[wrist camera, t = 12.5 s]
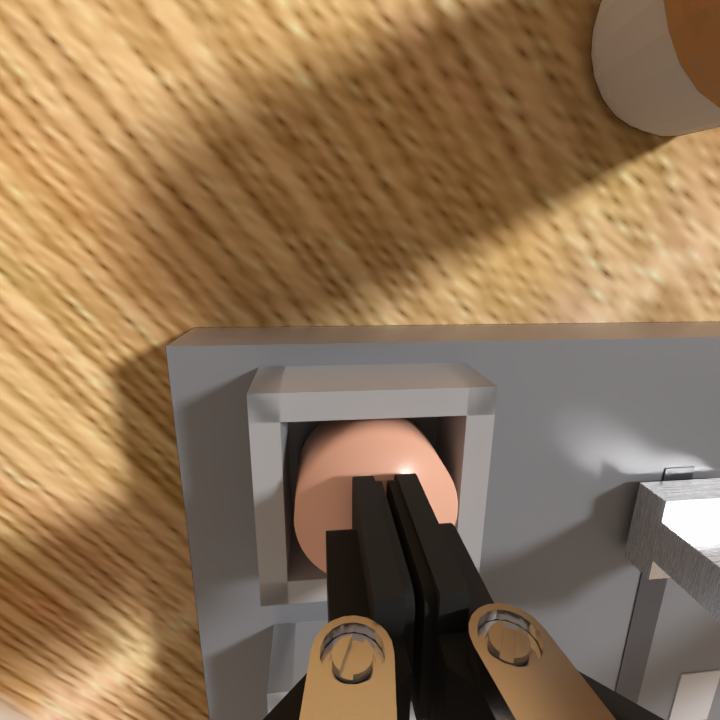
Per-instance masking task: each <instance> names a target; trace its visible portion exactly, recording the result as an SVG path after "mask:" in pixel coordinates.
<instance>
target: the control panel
mask: <svg viewBox="0 0 720 720" xmlns="http://www.w3.org/2000/svg"><path fill="white" fill-rule="evenodd" d="M166 354H167V363H168V371H169V380H170V388H171V397H172V405H173V414H174V422H175V431H176V439H177V447H178V456H179V464H180V473H181V481H182V490H183V498H184V507H185V515H186V524H187V532H188V541H189V549H190V558H191V566H192V575H193V583H194V592H195V600H196V609H197V617H198V626H199V634H200V642H201V651H202V659H203V668H204V676H205V685H206V693H207V702H208V710H209V719H210V720H263V719H264V718H265V717H266V716H267V715H268V714H269V712H270V711H271V710H272V709H273V708H274V707H275V706H276V705H277V704H278V703H279V702H280V701H281V700H282V699H283V698H284V697H285V696H286V694H287V693H288V692H289V691H290V690H291V689H292V688H293V687H294V686H295V685H296V684H297V683H298V682H299V681H300V680H301V679H302V678H303V676H304V675H305V674H306V673H307V670H308V664H309V659H310V653H311V648H312V645H313V642H314V639H315V637H316V636H317V634H318V633H319V632H320V630H321V629H322V628H323V627H324V626H325V625H327V624H328V606H327V575H326V573H325V572H323V571H322V570H320V569H319V568H318V567H317V566H315V565H314V564H313V563H312V562H311V561H310V559H309V558H308V557H307V556H306V555H305V553H304V551H303V550H302V548H301V546H300V544H299V542H298V539H297V536H296V532H295V526H294V510H295V496H296V482H297V468H298V461H299V456H300V453H301V450H302V448H303V446H304V444H305V442H306V440H307V438H308V437H309V436H310V434H311V433H312V432H313V431H314V430H315V428H316V427H317V426H318V425H320V424H321V423H322V422H323V421H330V420H357V419H385V418H410V419H412V420H413V421H414V422H415V423H416V424H417V425H418V426H419V427H420V428H421V429H422V431H423V432H424V434H425V435H426V437H427V438H428V440H429V442H430V443H431V445H432V447H433V448H434V450H435V452H436V453H437V455H438V456H439V458H440V460H441V461H442V463H443V465H444V466H445V468H446V470H447V471H448V473H449V475H450V477H451V479H452V481H453V483H454V486H455V489H456V492H457V499H458V514H457V520H456V524H455V528H456V529H457V531H458V533H459V535H460V537H461V539H462V541H463V543H464V545H465V547H466V549H467V551H468V553H469V555H470V557H471V559H472V561H473V563H474V565H475V567H476V568H477V570H478V572H479V574H480V576H481V578H482V580H483V582H484V584H485V586H486V588H487V590H488V592H489V594H490V596H491V598H492V600H493V602H494V604H495V603H501V604H506V605H511V606H514V607H516V608H519V609H521V610H523V611H525V612H526V613H528V614H529V615H531V616H532V617H534V618H535V619H536V620H537V621H538V622H539V623H540V624H541V625H542V626H543V627H544V628H545V629H546V631H547V632H548V633H549V635H550V636H551V637H552V638H553V640H554V641H555V642H556V644H557V645H558V646H559V647H560V649H561V650H562V651H563V652H564V654H565V655H566V656H567V658H568V659H569V660H570V661H571V663H572V664H573V665H574V667H575V668H576V669H577V670H578V671H580V672H581V673H583V674H585V675H587V676H588V677H590V678H592V679H594V680H595V681H597V682H599V683H601V684H602V685H604V686H606V687H608V688H609V689H611V690H613V691H615V692H617V693H618V694H620V695H622V696H624V697H625V698H627V699H629V700H631V701H632V702H634V703H636V704H638V705H639V706H641V707H643V708H645V709H647V710H648V711H650V712H652V713H654V714H655V715H657V716H659V717H661V718H662V719H664V720H720V622H719V621H718V620H717V619H715V618H714V617H713V616H712V615H711V614H710V613H709V612H708V611H707V610H706V609H705V608H703V607H702V606H701V605H700V604H699V603H698V602H697V601H696V600H695V599H694V598H693V597H691V596H690V595H689V594H688V593H687V592H686V591H685V590H684V589H683V588H682V587H681V586H680V585H678V584H677V583H676V582H675V581H674V580H673V579H672V578H662V579H651V580H648V579H647V578H646V577H645V576H644V575H643V574H642V573H641V572H640V571H639V570H638V569H637V568H636V567H635V566H634V565H633V564H632V563H631V562H630V561H629V560H628V559H627V558H626V557H625V556H624V555H625V550H626V545H627V541H628V536H629V531H630V526H631V521H632V517H633V512H634V507H635V502H636V497H637V493H638V488H639V483H641V482H658V481H676V480H693V479H710V478H720V322H642V323H558V324H474V325H390V326H306V327H222V328H193V329H191V330H190V331H188V332H187V333H185V334H184V335H182V336H180V337H179V338H177V339H176V340H174V341H173V342H171V343H170V344H168V345H167V346H166ZM411 701H412V700H411Z"/></svg>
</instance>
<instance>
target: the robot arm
mask: <svg viewBox="0 0 720 720" xmlns="http://www.w3.org/2000/svg"><path fill="white" fill-rule="evenodd" d="M326 575H327V606H328V624H327V625H325V626H324V627H323V628H322V629H321V630H320V632H319V633H318V634H317V636H316V637H315V639H314V642H313V645H312V648H311V653H310V659H309V664H308V670H307V673H306V674H305V675H304V676H303V678H302V679H301V680H300V681H299V682H298V683H297V684H296V685H295V686H294V687H293V688H292V689H291V690H290V691H289V692H288V693H287V694H286V696H285V697H284V698H283V699H282V700H281V701H280V702H279V703H278V704H277V705H276V706H275V707H274V708H273V709H272V710H271V711H270V712H269V714H268V715H267V716H266V717H265V718H264V719H263V720H409V719H410V702H411V700H412V704H413V709H414V713H415V717H416V720H664V719H662V718H661V717H659V716H657V715H655V714H654V713H652V712H650V711H648V710H647V709H645V708H643V707H641V706H639V705H638V704H636V703H634V702H632V701H631V700H629V699H627V698H625V697H624V696H622V695H620V694H618V693H617V692H615V691H613V690H611V689H609V688H608V687H606V686H604V685H602V684H601V683H599V682H597V681H595V680H594V679H592V678H590V677H588V676H587V675H585V674H583V673H581V672H580V671H578V670H577V669H576V668H575V667H574V665H573V664H572V663H571V661H570V660H569V659H568V658H567V656H566V655H565V654H564V652H563V651H562V650H561V649H560V647H559V646H558V645H557V644H556V642H555V641H554V640H553V638H552V637H551V636H550V635H549V633H548V632H547V631H546V629H545V628H544V627H543V626H542V625H541V624H540V623H539V622H538V621H537V620H536V619H535V618H534V617H532V616H531V615H529V614H528V613H526V612H525V611H523V610H521V609H519V608H516V607H514V606H511V605H506V604H501V603H495V604H494V602H493V600H492V598H491V596H490V594H489V592H488V590H487V588H486V586H485V584H484V582H483V580H482V578H481V576H480V574H479V572H478V570H477V568H476V567H475V565H474V563H473V561H472V559H471V557H470V555H469V553H468V551H467V549H466V547H465V545H464V543H463V541H462V539H461V537H460V535H459V533H458V531H457V529H456V528H455V526H454V525H453V524H452V523H440V524H439V523H438V520H437V518H436V516H435V514H434V512H433V509H432V507H431V505H430V503H429V501H428V498H427V496H426V494H425V492H424V490H423V487H422V485H421V483H420V481H419V479H418V477H417V475H416V474H415V473H413V474H395V475H394V480H388V481H387V491H386V493H385V490H384V486H383V483H382V481H375V479H374V476H373V475H372V476H353V478H352V529H345V530H329V531H326Z"/></svg>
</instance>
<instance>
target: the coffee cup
mask: <svg viewBox="0 0 720 720" xmlns="http://www.w3.org/2000/svg"><path fill="white" fill-rule="evenodd" d="M591 56H592V63H593V71H594V78H595V81H596V83H597V86H598V88H599V91H600V93H601V96H602V98H603V100H604V101H605V103H606V104H607V105H608V107H609V108H610V109H611V110H612V112H613V113H614V114H615V116H617V117H618V118H620V119H621V120H622V121H624V122H625V123H627V124H628V125H630V126H631V127H635V128H638V129H639V130H642V131H645V132H648V133H652V134H655V135H659V136H678V135H686V134H690V133H695V132H699V131H704V130H708V129H712V128H717V127H720V0H602V2H601V4H600V7H599V11H598V14H597V18H596V21H595V24H594V28H593V38H592V51H591Z"/></svg>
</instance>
